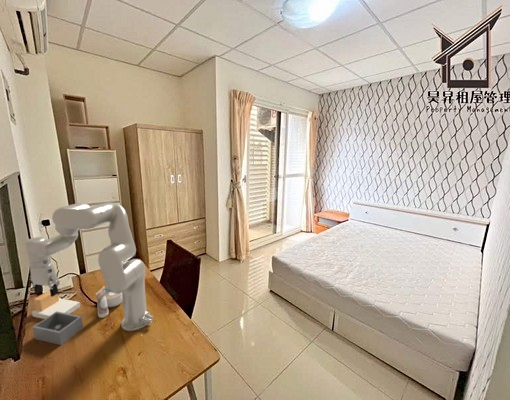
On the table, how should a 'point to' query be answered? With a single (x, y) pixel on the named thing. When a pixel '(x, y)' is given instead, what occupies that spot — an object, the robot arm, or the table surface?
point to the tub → (58, 328)
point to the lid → (52, 305)
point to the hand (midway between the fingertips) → (47, 293)
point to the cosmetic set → (107, 301)
